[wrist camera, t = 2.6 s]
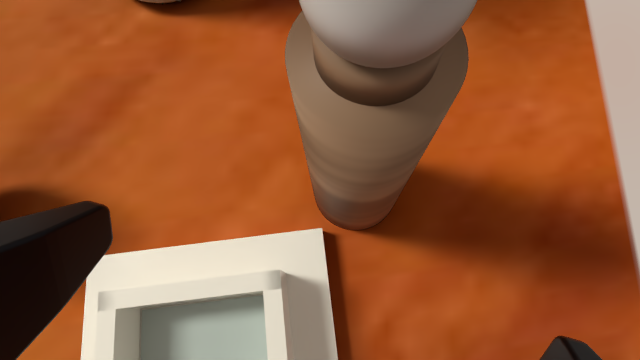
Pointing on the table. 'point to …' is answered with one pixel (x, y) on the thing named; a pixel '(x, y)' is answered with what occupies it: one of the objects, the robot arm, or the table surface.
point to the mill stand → (213, 302)
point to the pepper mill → (372, 95)
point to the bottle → (160, 1)
